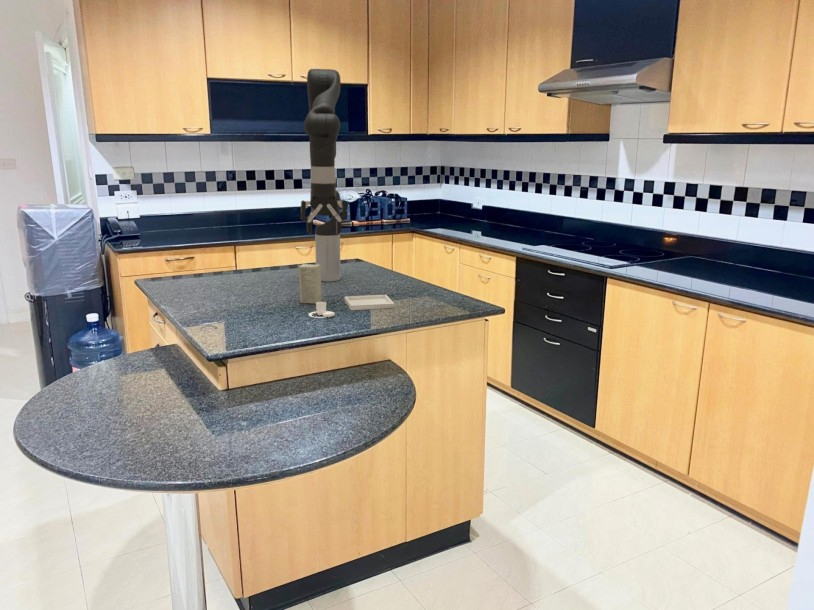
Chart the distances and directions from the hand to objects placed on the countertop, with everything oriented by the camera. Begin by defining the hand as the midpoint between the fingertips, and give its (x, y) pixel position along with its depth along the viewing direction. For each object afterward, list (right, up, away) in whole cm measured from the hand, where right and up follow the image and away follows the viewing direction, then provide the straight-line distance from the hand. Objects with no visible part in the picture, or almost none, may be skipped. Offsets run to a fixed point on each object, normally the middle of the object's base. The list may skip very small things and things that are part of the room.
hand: (324, 233), depth 201 cm
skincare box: (-5, -21, +9) cm, 24 cm away
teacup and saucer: (-1, -27, -9) cm, 28 cm away
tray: (+14, -22, +6) cm, 27 cm away
